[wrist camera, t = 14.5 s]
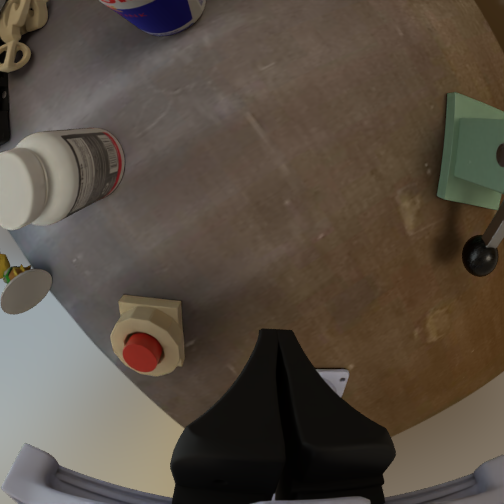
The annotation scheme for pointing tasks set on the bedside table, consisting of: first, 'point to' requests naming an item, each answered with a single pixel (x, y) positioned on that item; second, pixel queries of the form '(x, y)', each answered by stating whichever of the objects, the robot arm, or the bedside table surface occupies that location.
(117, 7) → the beverage can
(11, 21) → the decorative script
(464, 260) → the lever
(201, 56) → the bedside table surface
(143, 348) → the button
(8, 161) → the pill bottle
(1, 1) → the phone
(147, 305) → the button box
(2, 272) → the figurine
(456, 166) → the bracket
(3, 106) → the cassette tape
